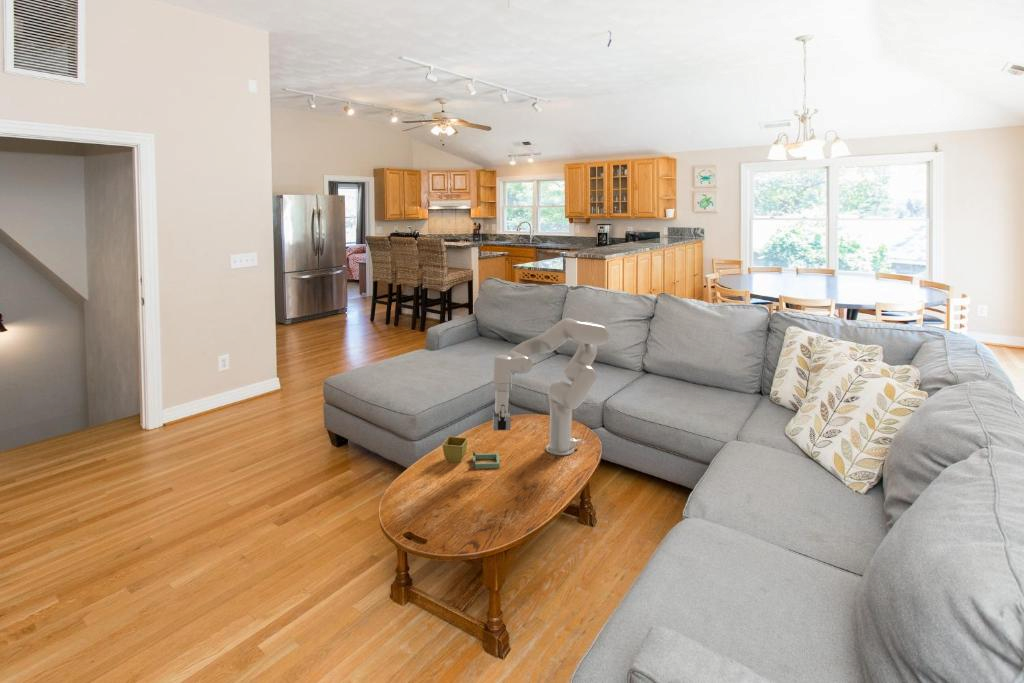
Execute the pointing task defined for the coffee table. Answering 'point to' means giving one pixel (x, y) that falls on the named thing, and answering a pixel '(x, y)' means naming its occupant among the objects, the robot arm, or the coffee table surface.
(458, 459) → the flower pot
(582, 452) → the coffee table surface
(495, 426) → the chute block
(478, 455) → the frame
